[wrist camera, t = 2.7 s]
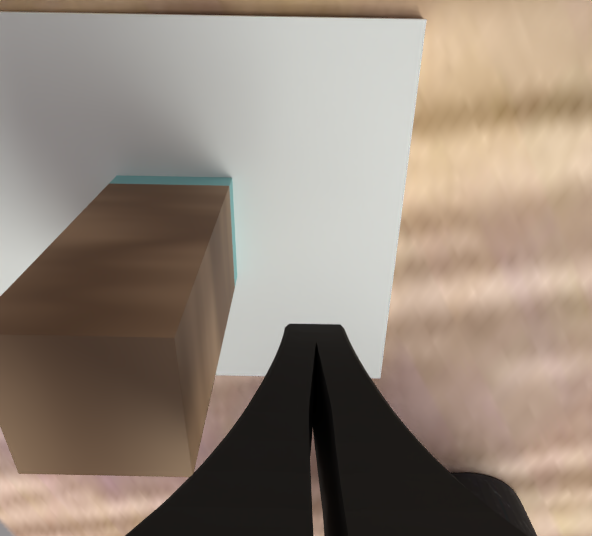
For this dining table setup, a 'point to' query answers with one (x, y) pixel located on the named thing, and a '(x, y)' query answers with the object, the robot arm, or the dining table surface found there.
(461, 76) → the dining table surface
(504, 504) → the travel mug
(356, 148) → the grey mat
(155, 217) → the walnut block
